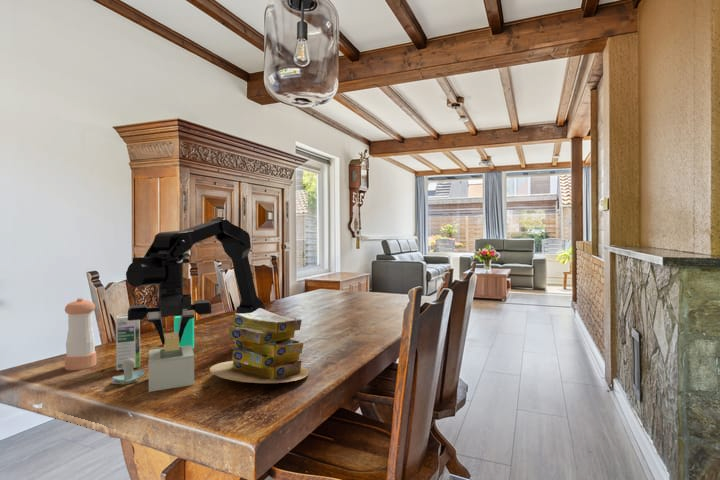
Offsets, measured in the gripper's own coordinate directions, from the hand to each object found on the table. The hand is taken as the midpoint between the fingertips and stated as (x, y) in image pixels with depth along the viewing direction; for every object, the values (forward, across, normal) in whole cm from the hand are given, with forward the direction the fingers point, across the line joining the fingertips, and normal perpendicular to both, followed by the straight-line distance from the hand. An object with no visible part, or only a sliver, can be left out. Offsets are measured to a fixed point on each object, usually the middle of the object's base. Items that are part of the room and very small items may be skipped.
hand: (171, 343), depth 101 cm
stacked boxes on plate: (+10, +21, -7) cm, 24 cm away
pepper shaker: (+10, -22, +24) cm, 34 cm away
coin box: (+10, 0, 0) cm, 10 cm away
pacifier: (+10, -10, +5) cm, 15 cm away
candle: (+10, +4, +30) cm, 32 cm away
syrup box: (+10, -10, +18) cm, 23 cm away
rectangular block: (+1, 0, 0) cm, 1 cm away
